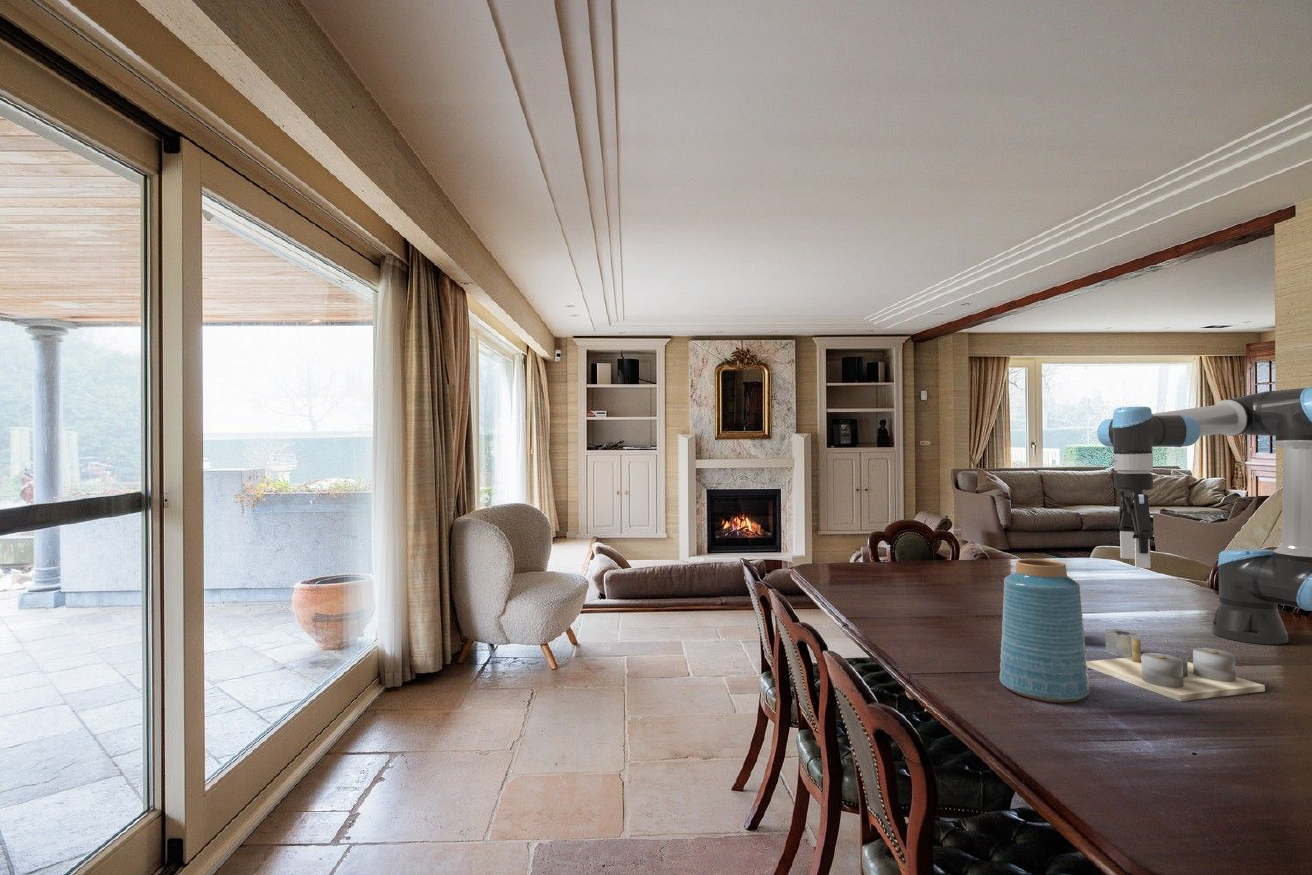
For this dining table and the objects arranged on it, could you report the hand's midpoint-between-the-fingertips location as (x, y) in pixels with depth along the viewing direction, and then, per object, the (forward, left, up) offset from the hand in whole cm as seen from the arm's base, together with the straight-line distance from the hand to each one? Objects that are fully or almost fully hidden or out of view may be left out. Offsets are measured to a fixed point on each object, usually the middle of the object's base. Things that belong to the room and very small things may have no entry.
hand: (1134, 563), depth 158 cm
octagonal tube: (-4, -7, -23) cm, 25 cm away
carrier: (+2, +10, -23) cm, 26 cm away
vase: (+34, +9, -24) cm, 43 cm away
